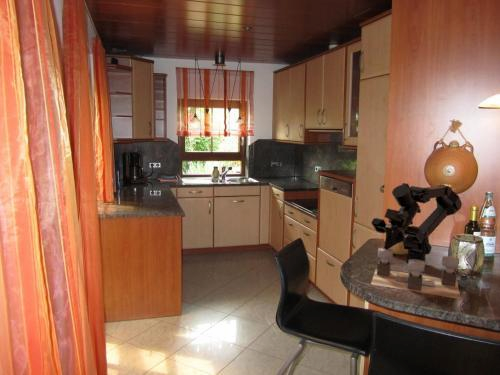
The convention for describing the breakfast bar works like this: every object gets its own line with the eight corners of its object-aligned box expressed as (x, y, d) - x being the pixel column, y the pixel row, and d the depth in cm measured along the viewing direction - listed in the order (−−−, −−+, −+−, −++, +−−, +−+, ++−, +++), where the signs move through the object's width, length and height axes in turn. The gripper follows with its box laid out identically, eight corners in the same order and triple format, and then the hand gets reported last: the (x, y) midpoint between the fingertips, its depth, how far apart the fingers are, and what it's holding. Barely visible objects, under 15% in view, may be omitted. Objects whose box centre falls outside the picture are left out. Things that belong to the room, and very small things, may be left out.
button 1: (384, 261, 154) (385, 247, 153) (394, 265, 150) (396, 251, 149) (373, 262, 152) (375, 248, 151) (383, 267, 148) (385, 252, 147)
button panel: (375, 272, 157) (376, 258, 156) (456, 284, 147) (458, 269, 146) (370, 288, 142) (371, 272, 141) (460, 303, 132) (462, 286, 131)
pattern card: (396, 275, 150) (396, 273, 150) (433, 281, 146) (433, 279, 145) (395, 281, 144) (395, 279, 144) (433, 287, 140) (434, 285, 140)
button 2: (447, 270, 146) (449, 255, 146) (460, 275, 142) (462, 260, 141) (437, 272, 144) (439, 257, 143) (450, 277, 140) (451, 261, 139)
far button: (414, 273, 142) (416, 258, 141) (426, 278, 138) (428, 263, 137) (403, 275, 140) (405, 260, 139) (415, 281, 136) (417, 265, 135)
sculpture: (378, 249, 185) (380, 225, 183) (400, 247, 189) (402, 223, 187) (395, 257, 174) (398, 232, 173) (418, 255, 179) (421, 230, 177)
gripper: (376, 196, 158) (355, 229, 153) (422, 205, 143) (401, 241, 138) (386, 214, 164) (367, 246, 159) (432, 225, 149) (412, 260, 144)
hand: (385, 248), depth 150 cm, fingers closed
